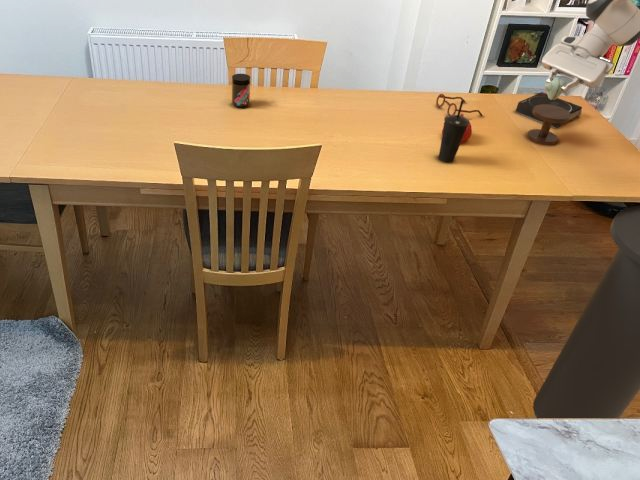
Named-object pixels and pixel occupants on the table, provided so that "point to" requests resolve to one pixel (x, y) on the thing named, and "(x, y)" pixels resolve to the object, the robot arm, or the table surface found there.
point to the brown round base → (547, 123)
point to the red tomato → (467, 132)
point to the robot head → (554, 88)
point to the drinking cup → (452, 135)
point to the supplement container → (240, 90)
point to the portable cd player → (528, 104)
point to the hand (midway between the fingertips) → (555, 86)
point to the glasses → (453, 104)
